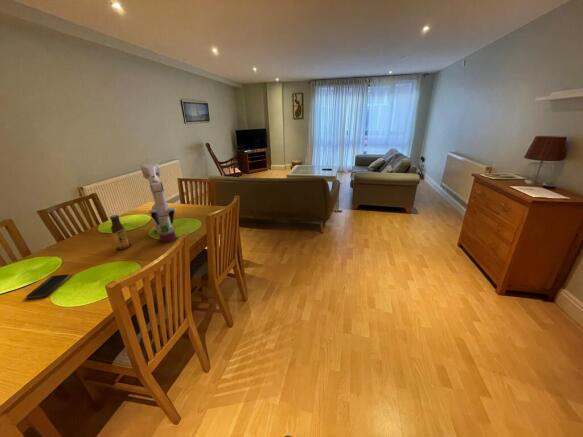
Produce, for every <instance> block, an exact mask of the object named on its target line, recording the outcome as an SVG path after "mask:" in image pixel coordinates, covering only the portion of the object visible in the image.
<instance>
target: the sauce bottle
mask: <svg viewBox="0 0 583 437" xmlns="http://www.w3.org/2000/svg"><path fill="white" fill-rule="evenodd" d="M109 219H110V221H111V227H110V230H111V235H112V238H113V240H114V244H115V247H116V249H117V250H125V249H128V248H129V247H130V242H129V239H128V235H127V231H126V228H125V227H124V225H123V224H122V223H121V220H120V215H119V214H113V215H110V216H109Z"/></svg>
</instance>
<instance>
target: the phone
mask: <svg viewBox="0 0 583 437" xmlns="http://www.w3.org/2000/svg"><path fill="white" fill-rule="evenodd" d="M68 279H70V274H58V275H56V274H55V275H52V276H49V278H48V279H46V280H44V281H43V282H42V283H41V284H40V285H38V286H37V287H36V288H34V289H33V290H31V292H29V293H28V294H27V295H26V296H25V298H26V299H27V300H31V299H32V300H34V299H35V300H36V299H44V298H46V297H48V296H50V295H51V294H53V292H54V291H55V290H57V289H58V288H59V287H60V286H61V285H62V284H64V283H65V282H66V281H67V280H68Z"/></svg>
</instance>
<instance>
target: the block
mask: <svg viewBox="0 0 583 437" xmlns="http://www.w3.org/2000/svg"><path fill="white" fill-rule="evenodd" d="M170 224H171V223H170ZM170 224H169V223H162V224H161V226H160V227H161V231H162V232H167V231H169V230H170Z"/></svg>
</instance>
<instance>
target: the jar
mask: <svg viewBox="0 0 583 437" xmlns="http://www.w3.org/2000/svg"><path fill="white" fill-rule="evenodd" d="M173 227H174V226H172V227H170V230H169V231H167V232H162V231H161V229H160V230H158V231H157V235H158V238H159V241H160V242H161V243H170V242H172V241H175V240H176V239H177V235H176V229H175V227H174V228H173Z"/></svg>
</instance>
